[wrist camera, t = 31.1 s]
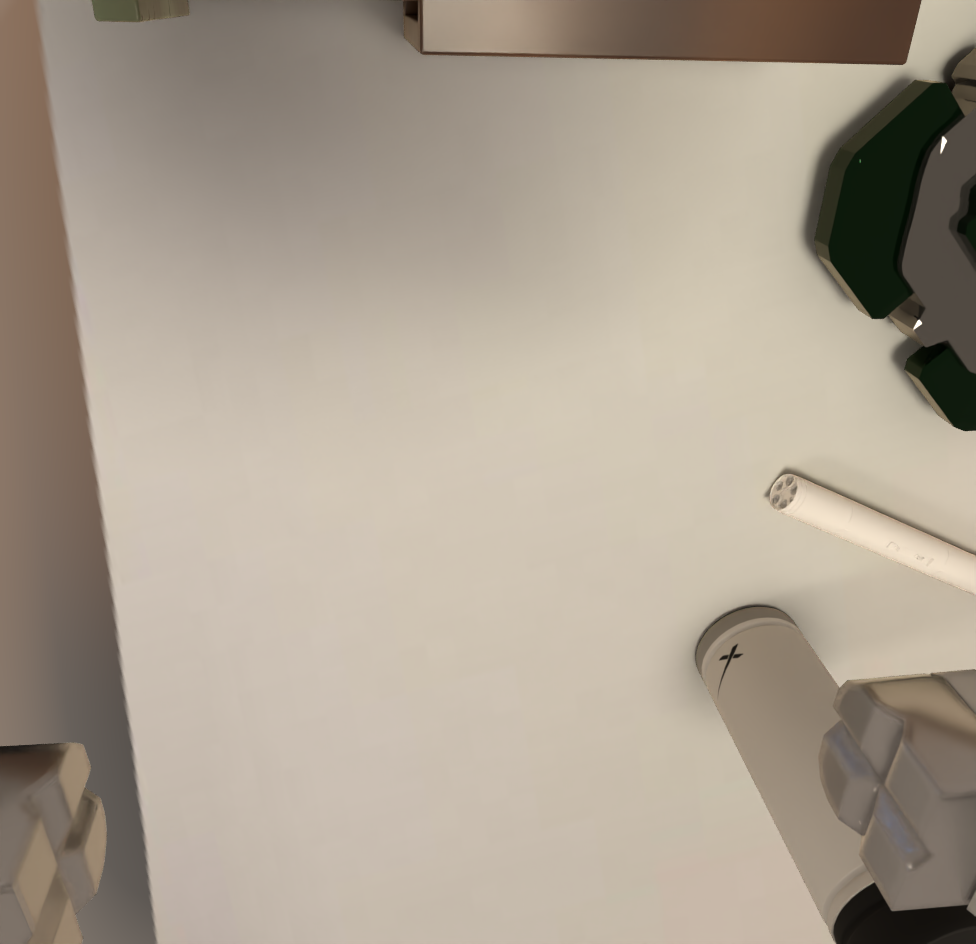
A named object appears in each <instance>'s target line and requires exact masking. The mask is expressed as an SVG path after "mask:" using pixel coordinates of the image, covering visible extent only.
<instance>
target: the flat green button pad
mask: <svg viewBox="0 0 976 944" xmlns="http://www.w3.org/2000/svg"><path fill="white" fill-rule="evenodd" d="M952 78H953V80H954V82H955V83H956V85H955V87H954V89H953V91H952V92H951V91H950V89H949V87H948V85H947V84H946V83H943V82H937V81H930V80H914V81H913V82H912V83H911V84H910V85H909V86H908V87H907V88H906V89H905V90H903V91H902V92H901V93H900V94H899V95H898V96H897V97H896V98H895V99H894V100H892V101H891V102H890V103H889V104H888V105H887V106H886V107H885V108H884V109H883V110H881V111H880V112H879V113H878V114H877V115H876V116H875V117H874V118H873V119H872V120H870V121H869V122H868V123H867V124H866V125H865V126H864V127H863V128H862V129H861V130H859V131H858V132H857V133H856V134H855V135H854V136H853V137H852V138H851V139H850V140H848V141H847V142H846V143H845V144H844V145H843V146H842V147H841V148H840V149H839V151H838V153H837V154H836V156H835V158H834V159H833V161H832V163H831V165H830V168H829V173H828V178H827V182H826V187H825V192H824V196H823V201H822V206H821V210H820V215H819V220H818V224H817V229H816V234H815V238H814V240H815V246H816V252H817V255H818V256H819V258H820V259H821V261H822V262H823V263H824V265H825V266H826V267H827V269H828V270H829V271H830V273H831V274H832V275H833V277H834V278H835V279H836V281H837V282H838V283H839V285H840V286H841V287H842V289H843V290H844V292H845V293H846V294H847V296H848V297H849V298H850V300H851V301H852V302H853V304H854V305H855V306H856V308H857V309H858V310H859V311H861V312H862V313H864V314H865V315H867V316H869V317H870V318H872V319H884V318H885V317H886V316H887V315H889V317H890V318H891V319H892V321H893V322H894V324H895V325H896V326H897V328H898V329H899V330H900V331H901V332H902V333H904V334H905V335H907V336H909V337H910V338H912V339H913V340H915V341H916V342H918V343H920V344H921V345H923V346H922V347H921V348H920V349H919V350H917V351H916V352H915V353H914V354H913V355H911V356H910V357H909V358H908V359H907V361H906V365H905V368H904V370H905V371H906V373H907V374H908V375H909V377H910V378H911V379H912V381H913V382H914V383H915V385H916V386H917V387H918V389H919V390H920V391H921V393H922V394H923V395H924V397H925V398H926V400H927V401H928V402H929V404H930V405H931V406H932V408H933V409H934V410H935V412H936V413H937V414H938V416H940V417H941V418H942V419H944V420H945V421H946V422H948V423H949V424H951V425H952V426H953V427H956V428H958V429H960V430H963V431H976V48H975V49H973V50H972V51H971V52H970V53H969V54H968V55H967V56H966V57H965V58H963V59H962V60H961V61H960V62H959V63H958V64H957V66H956V68H955V70H954V72H953V74H952Z"/></svg>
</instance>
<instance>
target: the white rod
mask: <svg viewBox="0 0 976 944" xmlns="http://www.w3.org/2000/svg"><path fill="white" fill-rule="evenodd" d="M770 504H771V506H772V507H773V508H774V509H776V510H777V511H779V512H781V513H782V514H785V515H787V516H790V517H792V518H794V519H797V520H799V521H801V522H804V523H806V524H809V525H811V526H813V527H816V528H818V529H820V530H823V531H825V532H827V533H830V534H832V535H834V536H837V537H839V538H842V539H844V540H846V541H849V542H851V543H853V544H856V545H858V546H860V547H863V548H865V549H867V550H870V551H872V552H874V553H877V554H879V555H882V556H884V557H886V558H889V559H891V560H893V561H896V562H898V563H900V564H903V565H905V566H907V567H910V568H912V569H914V570H917V571H919V572H922V573H924V574H926V575H929V576H931V577H933V578H936V579H938V580H940V581H943V582H945V583H947V584H950V585H952V586H954V587H957V588H959V589H962V590H964V591H966V592H969V593H971V594H973V595H976V556H975V555H973V554H971V553H969V552H966V551H964V550H962V549H960V548H957V547H955V546H953V545H951V544H948V543H946V542H944V541H942V540H940V539H937V538H935V537H933V536H931V535H928V534H926V533H924V532H922V531H919V530H917V529H915V528H913V527H910V526H908V525H906V524H904V523H902V522H899V521H897V520H895V519H893V518H890V517H888V516H886V515H884V514H881V513H879V512H877V511H875V510H873V509H870V508H868V507H866V506H864V505H861V504H859V503H857V502H855V501H852V500H850V499H848V498H846V497H844V496H841V495H839V494H837V493H835V492H832V491H830V490H828V489H826V488H823V487H821V486H819V485H817V484H815V483H812V482H810V481H808V480H806V479H803V478H802V477H799V476H795V475H792V474H785V475H783V476H781V477H780V478H778V479H777V481H776V482H775V483H774V485H773V487H772V489H771V492H770Z"/></svg>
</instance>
